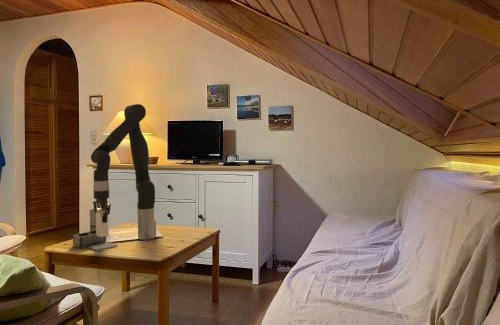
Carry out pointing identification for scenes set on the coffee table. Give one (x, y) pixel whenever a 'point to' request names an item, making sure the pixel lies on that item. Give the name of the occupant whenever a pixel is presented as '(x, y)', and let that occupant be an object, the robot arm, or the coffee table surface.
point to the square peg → (101, 226)
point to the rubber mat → (103, 246)
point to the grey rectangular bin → (87, 239)
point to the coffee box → (93, 220)
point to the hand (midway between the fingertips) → (102, 221)
